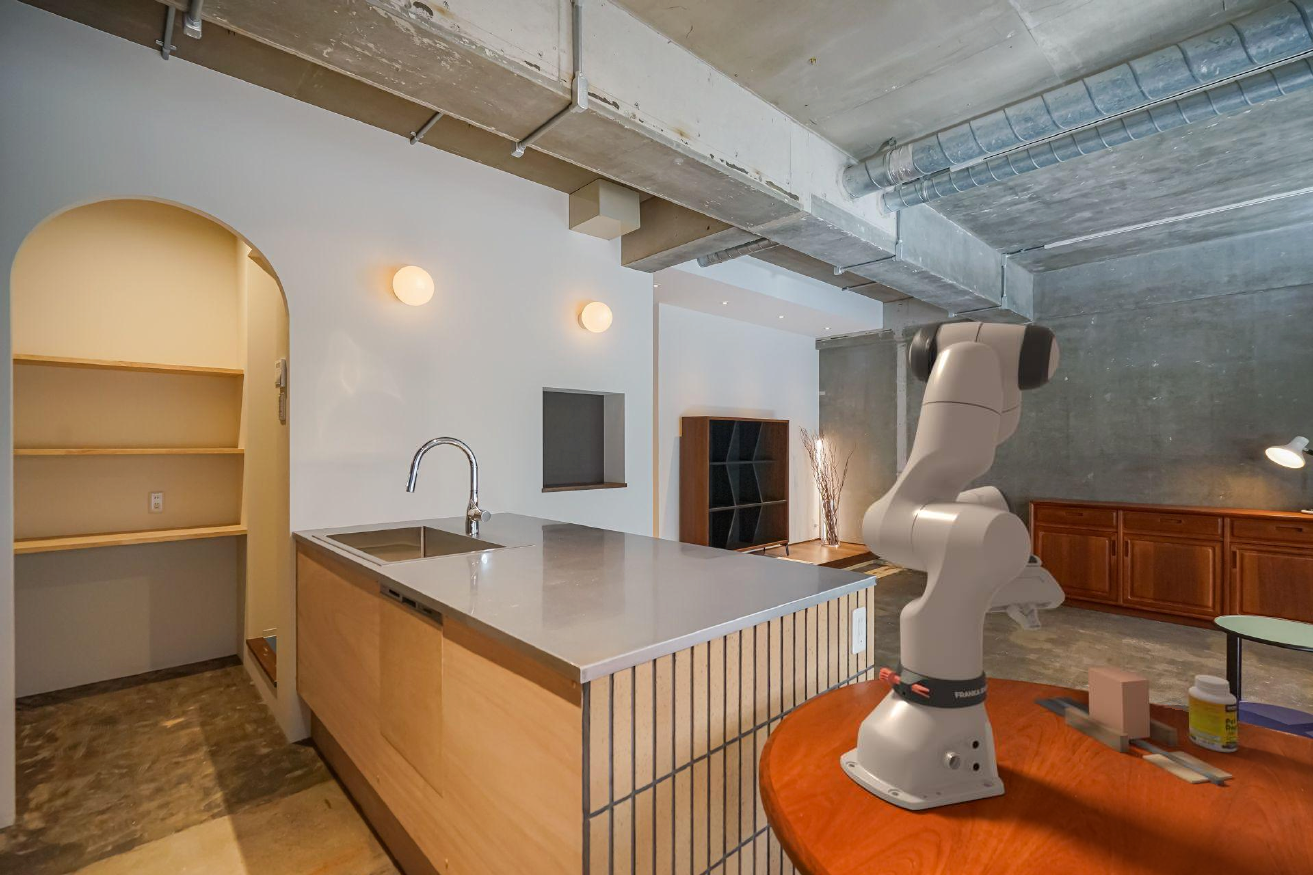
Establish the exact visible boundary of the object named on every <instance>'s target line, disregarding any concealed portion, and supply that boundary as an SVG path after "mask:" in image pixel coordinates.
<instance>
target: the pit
mask: <svg viewBox="0 0 1313 875" xmlns="http://www.w3.org/2000/svg"><path fill="white" fill-rule="evenodd" d="M1056 698H1057V699H1059V700H1061V701H1064V702H1066V703H1068V704H1070V705H1072V706H1074V707H1076V708H1078V709H1080V710H1082V711H1084V712H1086V713H1088V714H1089V706H1087V705H1084V703H1083V704H1082V703H1081V702H1079V701H1076V700H1075V699H1073V698H1071V697H1068V696H1061V697H1056ZM1033 702H1034V703H1036V704H1037V705H1039V706H1040V707H1041V706H1042V707H1044V708H1046V709H1048V710H1050V711H1051V712H1053V713H1055V714H1057V715H1059V716H1060V717H1063V718H1065V707H1063V706H1061V705H1059V704H1057V703H1055V702H1053V701H1051V700H1050V698H1040V699H1034V700H1033Z"/></svg>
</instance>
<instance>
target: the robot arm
mask: <svg viewBox="0 0 1313 875" xmlns="http://www.w3.org/2000/svg"><path fill="white" fill-rule="evenodd" d="M908 354H909V355H908V360H909V365H910V370H911V373H912V374H913V375H914V376H915V377H916V378H917V379H918V380H919V381H921V382H923V383H926V387H925V390H924V393H923V394H924V395H923V398H922V402H921V408H920V414H919V419H918V422H917V427H916V428H917V429H916V432H915V438H914V441H913V445H912V450H911V453H910V456H909V458H908V459H907V460H908V461H907V462H906V465H905V467H904V468H903V471H902V472H901V474H900V475H899V477H898V478H897V480H896V482H895V483H894V484H893V485H892V487H891V488H890V489H889V490H888V492H887V493H885V494H884V495H883V496H882V497H881V498H879V499H878V500H876V501H874V502H873V503H872V504H871V505H870V506H868V509H867V510H866V511H865V514H864V516H863V519H862V524H861V525H862V526H861V534H862V539H863V542H864V545H865V546H866V548H867V549H868V550H869V551H870V552H871V553H872V554H874V555H875V556H877V557H879V558H881V559H883V560H885V561H887V562H889V563H891V564H894V565H895V566H896V565H897V566H900V567H904V568H909V569H912V570H913V569H914V570H919V571H922V572H926V573H927V582H926V587H925V589H924V590H925V591H924V592H923V594H922V596H920V597H917V598H915V599H913V600H911V601H910V602H908V603H907V604H906V605H905V606H904V607H903V608H902V609H901V612H900V615H899V624H900V625H899V630H900V631H899V634H900V641H899V642H900V659H899V660H898V662H897V665H896V667H895V668H896V669H895V671H891V670H890V669H888V668H886V667H883V668H881V669H880V670H879V671H880V672H878V674H879V675H878V677H879V680H880V681H881V682H883V683H886V684H888V685H889V686H891V689H890V691H889V693H887V695H886V696H885V697H884V698H883V699H881V702H880V703H878V704H877V706H876V707H875V708H874V709H873V710H872V711H871V712H870V714H868V716H866V717H865V719H864V720H863V721H862V722H861V723H860V725H859V729H858V734H857V742H856V743H857V744H856V747H855V748H853V749H851V750H849V751H847V752H845V753H844V754H842V755H841V756H840V761H839V762H840V766H841V768H842V770H843V771H844V773H846V774H847V776H849V778H850V779H852V780H853V781H855V782H856V783H857V784H859V786H861V787H863V788H865V789H866V790H867V791H869V792H871V793H872V794H874V795H875V796H877V797H879V798H881V799H883V800H885V801H887V802H889V803H891V804H893V805H896V806H899V807H901V808H905V809H908V810H911V811H916V810H917V811H919V810H924V809H929V808H935V807H940V806H945V805H946V806H947V805H951V804H957V803H962V802H967V801H973V800H979V799H983V798H989V797H995V796H1001V795H1004V794H1005V786H1004V785H1005V784H1004V782H1003V780H1002V778H1000V777H999V772H998V767H997V757H996V749H995V742H994V741H995V740H994V735H993V728H992V724H991V722H990V720H989V716H988V714H987V710H986V707H985V701H986V700H987V697H988V695H987V693H988V692H987V690H988V682H987V674H986V672H985V670H984V669H983V639H984V638H983V636H984V624H985V617H986V614H987V613H989V614H990V613H1001V612H1005V613H1006V614H1007V615H1008V616H1009V617H1010V618H1011V619H1013V621H1015V622H1017V623H1018V624H1019V625H1020V627H1021V628H1022V630H1023V631H1035V630H1036V631H1037V630H1040V629H1041V628H1042V622H1041V621H1040V620H1039V618H1038V610H1045V609H1056V608H1058V607H1059V606H1061V604H1062V603H1063V602H1065V600H1066V599H1065V598H1066V594H1065V592H1064V591H1063V590H1064V589H1062V587H1061V586H1060V584H1059V583H1058V581H1057V580H1056V579H1055V577H1053V575H1052V574H1051V573H1050V572H1049V570H1047V569H1046V568H1044V567H1042V564H1043V562H1042V560H1041V559H1040V557H1039V556H1037V555H1035V554H1032V543H1031V542H1032V540H1031V537H1030V533H1029V531H1028V528H1027V527H1026V525H1025V523H1024V521H1022V519H1021V518H1020V517H1019V516H1017V508H1016V506H1015V503H1014V502H1013V500H1012V499H1011V497H1010V496H1009V495H1008V494H1007V493H1006V492H1005V491H1004V490H1002V489H1001V488H999V487H997V486H994V485H989V486H988V485H987V486H982V487H977V488H971V489H968V490H966V491H963V490H964V489H965V488H966V486H968V484H970V483H971V482H972V481H974V480H976V479H978V478H979V477H981V476H983V475H985V474H986V473H987V472H988V471H989V470H990V469H991V467H992V465H993V463H994V460H995V452H996V449H997V448H996V447H997V446H998V445H1001V444H1002V443H1003V442H1005V441H1006V440H1007V439H1009V437H1011V436H1012V435H1013V434H1014V433H1015V431H1016V429H1017V427H1018V425H1019V422H1020V418H1021V412H1022V398H1023V397H1022V396H1023V395H1022V394H1023V391H1031V390H1037V389H1040V388H1042V387H1043V386H1045V385H1046V384H1048V383H1049V382H1050V379H1051V378H1052V376H1053V375H1054V373H1055V372H1056V371H1057V370H1056V369H1057V367H1058V365H1059V360H1060V348H1059V345H1058V342H1057V340H1056V334H1054V332H1053V331H1052V330H1051V329H1050V328H1049V327H1045V326H1042V325H1039V324H1038V325H1037V324H1031V323H1028V324H1027V325H1021V324H1011V323H1000V322H984V321H966V322H965V321H963V322H953V323H945V324H944V323H943V322H938V323H937V322H935V323H931V324H926V325H924V326H922V327H921V328H920V329H919V330H918V331H916V333H915V335H914V337H913V339H912V341H911V344H910V347H909V353H908ZM1021 611H1022V612H1023V613H1024V614H1023V613H1022V612H1021ZM1025 615H1027V616H1028V617H1027V616H1025Z"/></svg>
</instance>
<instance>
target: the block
mask: <svg viewBox="0 0 1313 875" xmlns="http://www.w3.org/2000/svg"><path fill="white" fill-rule="evenodd" d="M1087 671H1088V672H1087V674H1088V707H1089V716H1090V717H1092V718H1094V719H1097V720H1099V721H1101V722H1103V723H1105V724H1107V725H1109V726H1111V727H1113V728H1115V729H1117V730H1119V731H1121V732H1123V733H1125V734H1127V735H1129V739H1137V738H1139V739H1144V738H1150V718H1151V717H1150V713H1151V712H1150V684H1149V682H1150V680H1149V679H1148V678H1145V677H1143V676H1140V675H1138V674H1135V673H1132V672H1130V671H1126V670H1124V669H1122V668H1119V667H1116V666H1113V665H1112V666H1104V667H1103V666H1102V667H1092V668H1091V667H1089V668H1088V669H1087Z"/></svg>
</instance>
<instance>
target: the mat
mask: <svg viewBox="0 0 1313 875" xmlns="http://www.w3.org/2000/svg"><path fill="white" fill-rule="evenodd" d="M1169 753H1170V754H1172V755H1174V756H1176V757H1178V758H1180V759H1182V760H1185V761H1187V762H1189V763H1191V764H1193V765H1195V766H1197V767H1199V768H1201V769H1203V770H1205V771H1207V772H1209V773H1211V774H1213V775H1215V776H1217V777H1219V778H1221V779H1224V780H1226V779H1232V778H1233V777H1234V775H1232V774H1230V773H1228V772H1226V771H1224V770H1222V769H1220V768H1218V767H1216V766H1214V765H1211V764H1209V763H1207V762H1205V761H1203V760H1200V759H1199V758H1196V757H1195V756H1192V755H1190V754H1188V753H1186V752H1184V751H1182V750H1181V751H1173V752H1171V751H1170V752H1169ZM1142 759H1144V760H1146V761H1148V762H1150V763H1151V764H1154V765H1155V766H1158V767H1159V768H1160V769H1163V770H1165V771H1167V772H1169V773H1171V774H1173V775H1175V776H1177V777H1179V778H1180V779H1183V780H1184V781H1186V782H1189V783H1190V784H1196V783H1204V782H1210V781H1209V779H1208V778H1206V777H1204V776H1202V775H1200V774H1198V773H1196V772H1194V771H1192V770H1190V769H1188V768H1186V767H1184V766H1182V765H1180V764H1178V763H1176V762H1174V761H1172V760H1170V759H1168V758H1166V757H1164V756H1162V755H1160V754H1154V753H1153V754H1148V755H1146V754H1145V755H1142Z"/></svg>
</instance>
